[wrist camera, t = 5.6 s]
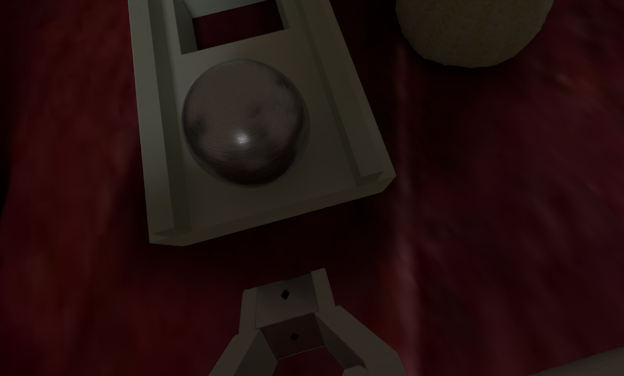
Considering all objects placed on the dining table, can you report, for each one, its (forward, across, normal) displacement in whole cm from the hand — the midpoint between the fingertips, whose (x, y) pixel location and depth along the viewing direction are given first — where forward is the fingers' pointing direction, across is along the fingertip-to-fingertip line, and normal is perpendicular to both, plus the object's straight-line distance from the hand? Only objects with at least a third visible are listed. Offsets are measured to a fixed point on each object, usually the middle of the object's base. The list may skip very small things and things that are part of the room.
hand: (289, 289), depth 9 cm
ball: (+4, 0, -5) cm, 7 cm away
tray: (+12, 0, -5) cm, 13 cm away
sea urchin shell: (+13, -15, -6) cm, 21 cm away
